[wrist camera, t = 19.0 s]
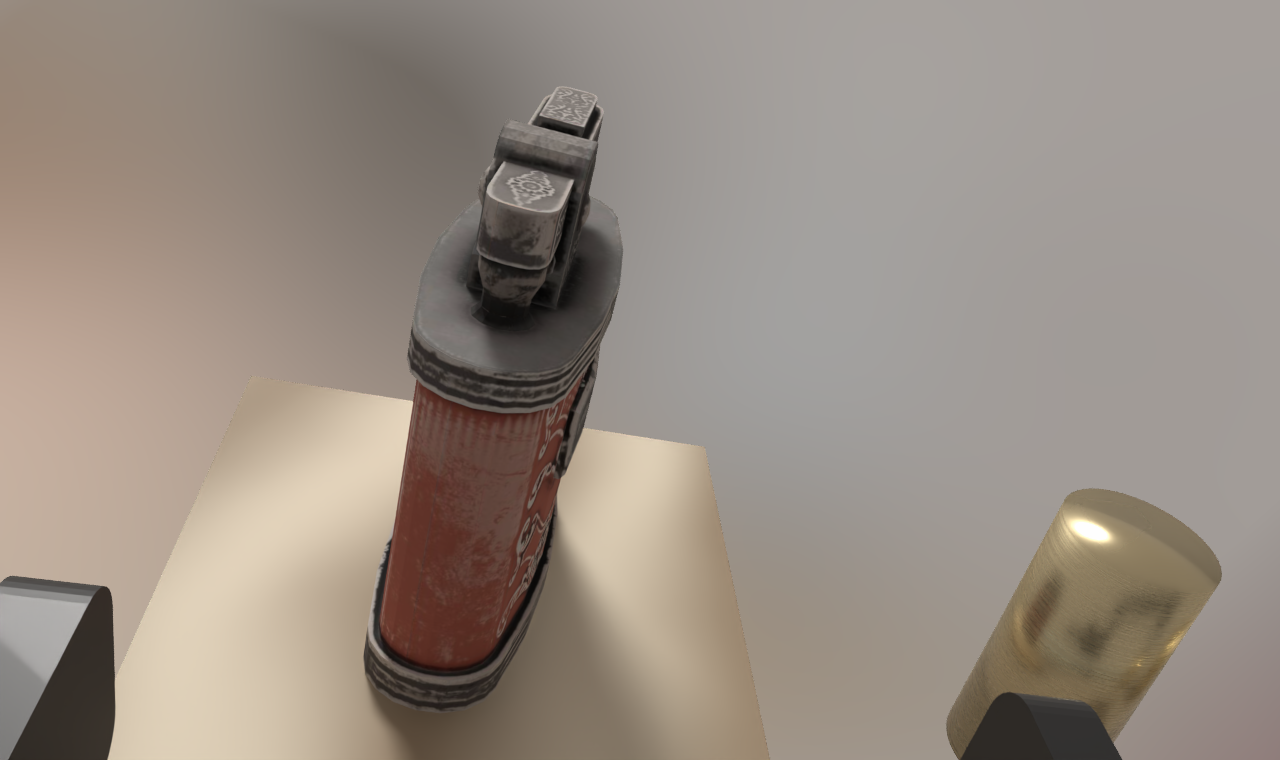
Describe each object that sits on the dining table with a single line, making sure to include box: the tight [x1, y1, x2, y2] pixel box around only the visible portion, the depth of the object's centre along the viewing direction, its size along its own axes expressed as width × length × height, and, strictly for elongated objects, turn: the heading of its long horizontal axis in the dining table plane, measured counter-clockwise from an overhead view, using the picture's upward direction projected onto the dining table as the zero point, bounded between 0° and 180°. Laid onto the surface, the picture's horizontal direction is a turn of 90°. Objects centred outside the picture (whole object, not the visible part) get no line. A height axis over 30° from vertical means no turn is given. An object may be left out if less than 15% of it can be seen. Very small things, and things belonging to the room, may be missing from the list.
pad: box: [108, 376, 770, 760], centre depth 24 cm, size 12×12×1 cm
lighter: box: [363, 86, 623, 713], centre depth 21 cm, size 8×3×10 cm, turn 176°
